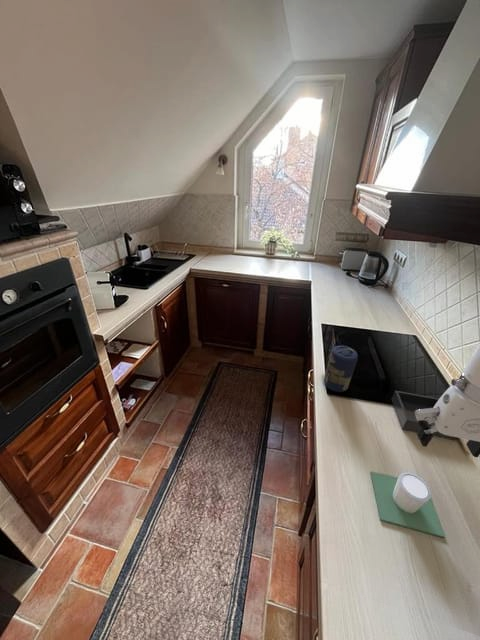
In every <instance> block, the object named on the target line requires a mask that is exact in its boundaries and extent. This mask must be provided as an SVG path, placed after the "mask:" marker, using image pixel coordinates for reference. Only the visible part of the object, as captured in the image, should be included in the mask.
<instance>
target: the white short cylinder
mask: <svg viewBox="0 0 480 640" xmlns="http://www.w3.org/2000/svg"><path fill="white" fill-rule="evenodd" d="M397 478H398V480H397V483H396V486H395V489H394V491H393V499H394V501H395V503H396V504H397V506H398V507H400V508H401V509H402V510H404V511H405V512H408V513H414V512H416V511H417V510H418V509H419V508H420V507H422V506H423V505H424V504H425V503H426V502H427V501H428V500H429V499H430V497H432V491H431V490H430V487H429V485H428V484H427V482H426V481H425V480H424V479H422V478H421V476H419V475H417V474H415V473H413V472H409V471H404V472H401V473H399V475H398V477H397Z"/></svg>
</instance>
